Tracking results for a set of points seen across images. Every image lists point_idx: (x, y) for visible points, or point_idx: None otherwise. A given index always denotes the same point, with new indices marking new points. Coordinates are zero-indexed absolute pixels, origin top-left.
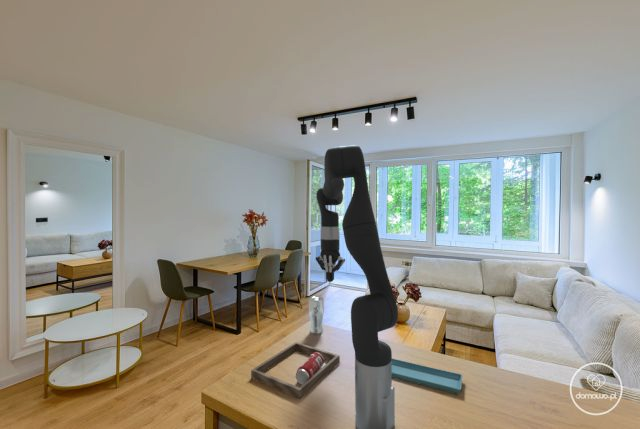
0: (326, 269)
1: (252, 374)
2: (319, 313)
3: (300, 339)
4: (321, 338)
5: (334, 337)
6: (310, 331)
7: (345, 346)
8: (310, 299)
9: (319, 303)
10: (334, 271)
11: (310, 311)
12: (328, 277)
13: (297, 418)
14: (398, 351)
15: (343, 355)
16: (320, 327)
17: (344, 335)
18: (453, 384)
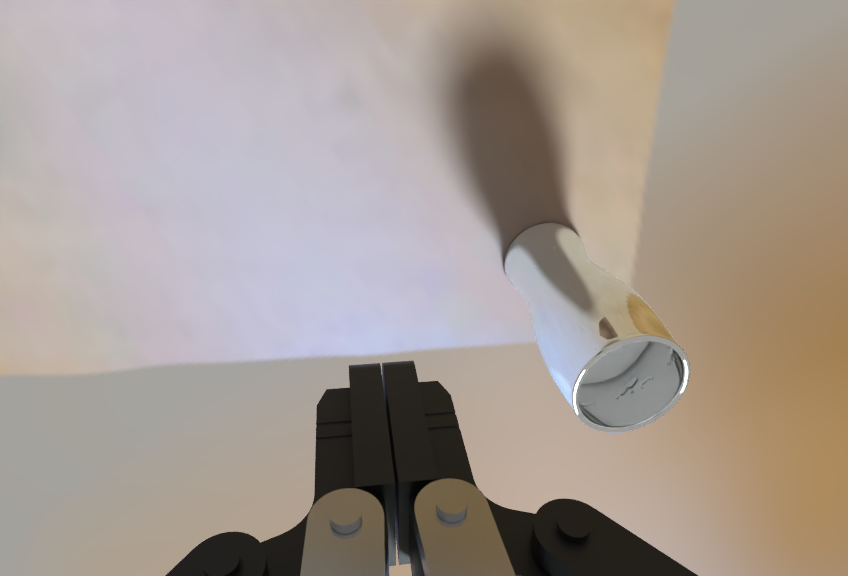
0: (466, 530)
1: None
2: (549, 304)
3: (580, 116)
4: (470, 199)
5: (409, 251)
6: (570, 229)
7: (290, 191)
8: (679, 369)
9: (576, 350)
10: (224, 533)
11: (620, 285)
12: (391, 404)
13: None
14: (8, 303)
15: (232, 83)
16: (520, 269)
17: (372, 302)
18: None
